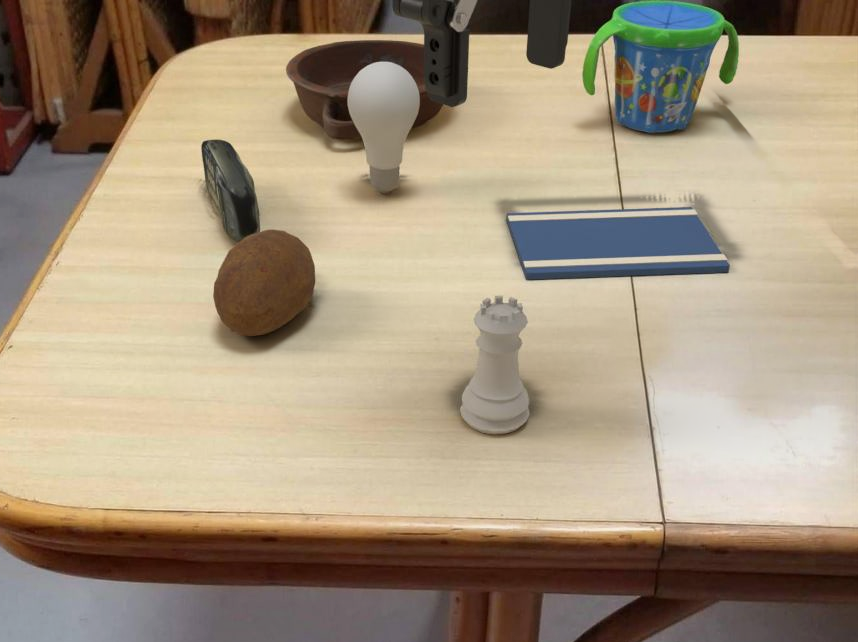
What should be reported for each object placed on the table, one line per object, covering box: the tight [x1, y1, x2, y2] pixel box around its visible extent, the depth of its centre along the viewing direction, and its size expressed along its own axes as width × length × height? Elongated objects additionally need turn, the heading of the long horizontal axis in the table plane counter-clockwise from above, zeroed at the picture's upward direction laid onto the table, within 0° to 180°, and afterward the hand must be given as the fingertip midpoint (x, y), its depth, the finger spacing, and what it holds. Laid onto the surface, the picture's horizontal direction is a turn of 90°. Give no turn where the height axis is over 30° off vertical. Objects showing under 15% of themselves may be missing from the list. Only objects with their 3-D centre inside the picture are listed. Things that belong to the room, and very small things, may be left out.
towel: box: [505, 206, 731, 281], centre depth 87 cm, size 16×11×1 cm
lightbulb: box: [347, 62, 420, 194], centre depth 92 cm, size 6×6×11 cm
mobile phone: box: [200, 139, 261, 243], centre depth 90 cm, size 5×3×15 cm
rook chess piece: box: [459, 295, 531, 435], centre depth 66 cm, size 4×4×8 cm
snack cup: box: [581, 0, 740, 134], centre depth 105 cm, size 16×10×10 cm
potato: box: [212, 229, 316, 337], centre depth 77 cm, size 7×10×6 cm
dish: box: [285, 39, 444, 141], centre depth 109 cm, size 18×22×5 cm
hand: (497, 82), depth 59 cm, fingers open, 8 cm apart
